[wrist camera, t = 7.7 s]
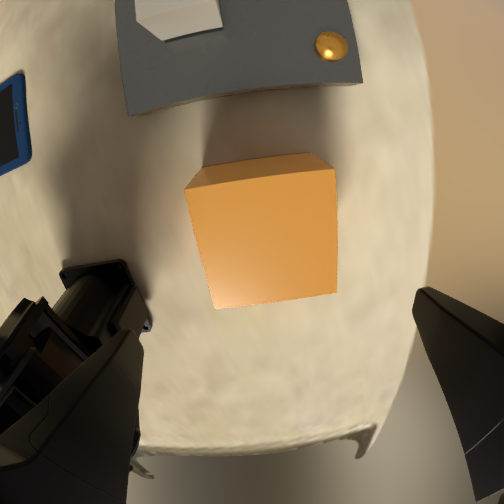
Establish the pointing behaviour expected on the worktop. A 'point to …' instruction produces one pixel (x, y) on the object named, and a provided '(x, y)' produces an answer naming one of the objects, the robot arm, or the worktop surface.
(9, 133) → the cell phone
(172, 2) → the light grey block
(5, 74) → the worktop surface
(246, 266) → the orange squarish block
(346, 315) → the worktop surface
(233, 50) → the panel
